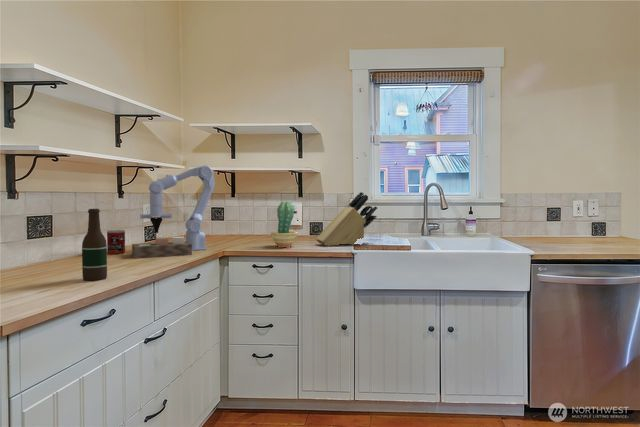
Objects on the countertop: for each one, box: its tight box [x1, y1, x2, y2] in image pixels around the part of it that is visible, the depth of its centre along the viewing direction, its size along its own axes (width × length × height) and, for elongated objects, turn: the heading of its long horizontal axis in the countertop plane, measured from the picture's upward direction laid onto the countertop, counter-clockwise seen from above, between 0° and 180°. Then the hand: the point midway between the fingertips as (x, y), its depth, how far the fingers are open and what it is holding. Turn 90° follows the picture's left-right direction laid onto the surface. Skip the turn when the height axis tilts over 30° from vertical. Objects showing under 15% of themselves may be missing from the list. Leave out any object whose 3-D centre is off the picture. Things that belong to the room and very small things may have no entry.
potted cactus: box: [270, 201, 299, 248], centre depth 228 cm, size 15×15×25 cm
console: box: [131, 240, 193, 259], centre depth 197 cm, size 25×13×5 cm, turn 118°
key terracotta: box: [155, 236, 169, 245], centre depth 197 cm, size 5×5×4 cm
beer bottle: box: [81, 208, 108, 282], centre depth 141 cm, size 8×8×24 cm
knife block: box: [315, 191, 378, 246], centre depth 241 cm, size 11×35×31 cm, turn 112°
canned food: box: [106, 229, 126, 255], centre depth 200 cm, size 8×8×11 cm
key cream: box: [171, 236, 186, 244], centre depth 200 cm, size 5×5×4 cm
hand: (156, 232), depth 206 cm, fingers closed
